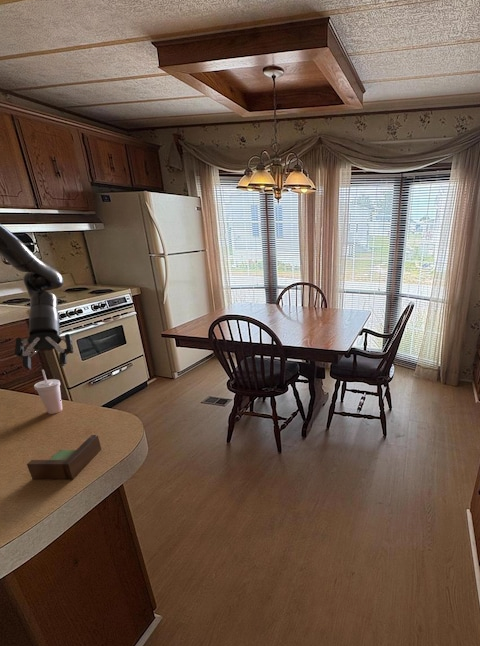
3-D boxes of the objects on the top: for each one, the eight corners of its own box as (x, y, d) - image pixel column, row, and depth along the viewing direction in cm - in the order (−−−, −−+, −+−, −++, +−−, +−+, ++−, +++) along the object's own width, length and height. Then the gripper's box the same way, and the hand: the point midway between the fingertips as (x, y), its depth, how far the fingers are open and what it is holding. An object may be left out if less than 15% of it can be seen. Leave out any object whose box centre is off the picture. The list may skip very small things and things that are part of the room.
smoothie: (65, 403, 113) (54, 364, 107) (69, 411, 109) (57, 370, 103) (41, 410, 108) (27, 369, 103) (44, 418, 104) (30, 376, 99)
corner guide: (27, 479, 80) (21, 464, 78) (62, 449, 91) (57, 434, 89) (73, 479, 80) (68, 464, 79) (101, 449, 91) (97, 434, 90)
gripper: (11, 317, 105) (10, 365, 100) (67, 314, 110) (69, 359, 105) (21, 329, 111) (21, 374, 106) (74, 325, 117) (76, 368, 112)
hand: (45, 366), depth 106 cm, fingers open, 8 cm apart
